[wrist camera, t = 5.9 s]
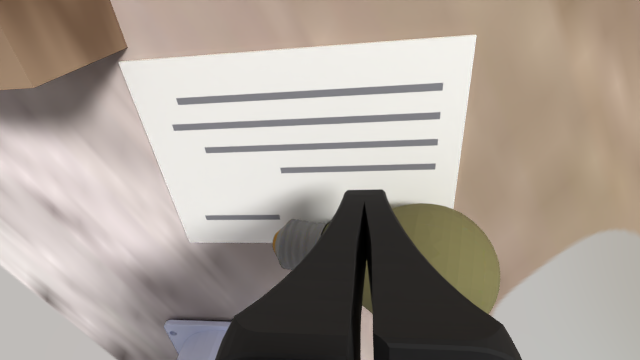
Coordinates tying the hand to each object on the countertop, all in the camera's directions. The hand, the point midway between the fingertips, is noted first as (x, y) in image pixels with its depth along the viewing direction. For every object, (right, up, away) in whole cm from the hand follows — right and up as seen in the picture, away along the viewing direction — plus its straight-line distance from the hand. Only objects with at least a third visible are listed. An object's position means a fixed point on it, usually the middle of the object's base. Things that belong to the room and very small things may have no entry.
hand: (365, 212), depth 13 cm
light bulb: (-4, -2, +5) cm, 7 cm away
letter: (-2, +2, +4) cm, 5 cm away
